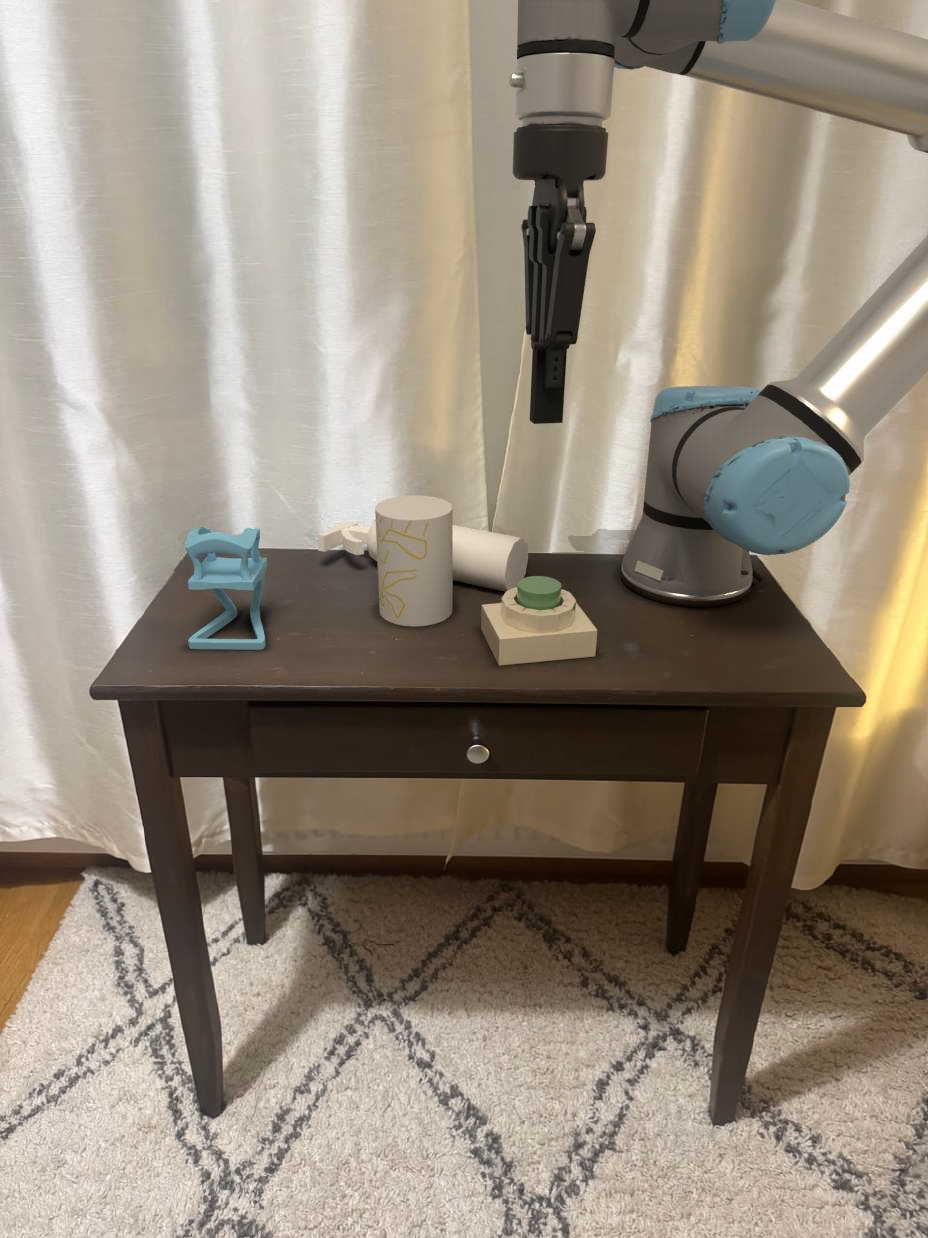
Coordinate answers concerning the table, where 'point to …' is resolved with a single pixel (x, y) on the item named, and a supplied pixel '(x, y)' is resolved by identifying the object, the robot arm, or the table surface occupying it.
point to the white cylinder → (415, 559)
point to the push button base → (537, 631)
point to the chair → (227, 582)
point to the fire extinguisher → (473, 553)
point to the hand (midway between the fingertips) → (545, 421)
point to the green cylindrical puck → (539, 593)
